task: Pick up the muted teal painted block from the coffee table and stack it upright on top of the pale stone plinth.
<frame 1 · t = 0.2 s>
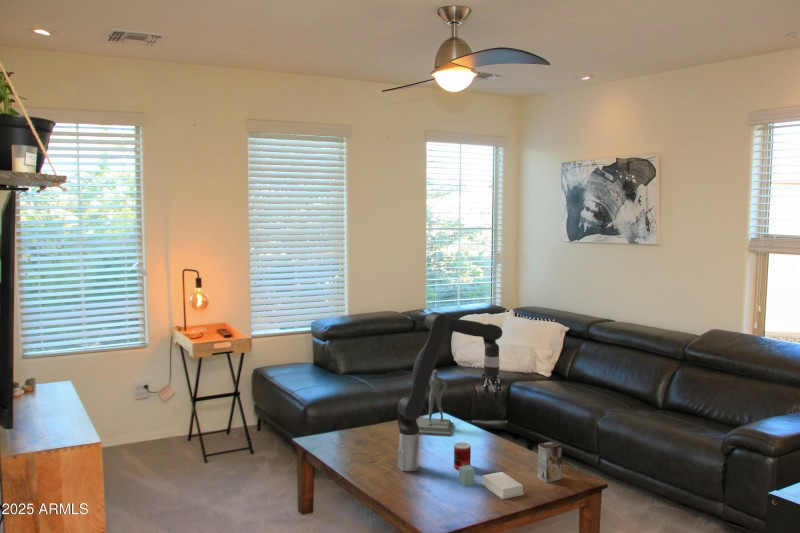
hand: (491, 396, 327), 29 cm above the table, fingers open, 8 cm apart
canned food: (462, 468, 312), on the table
plinth: (502, 489, 288), on the table
block: (466, 483, 295), on the table
statue: (433, 429, 366), on the table
coffee box: (549, 479, 300), on the table
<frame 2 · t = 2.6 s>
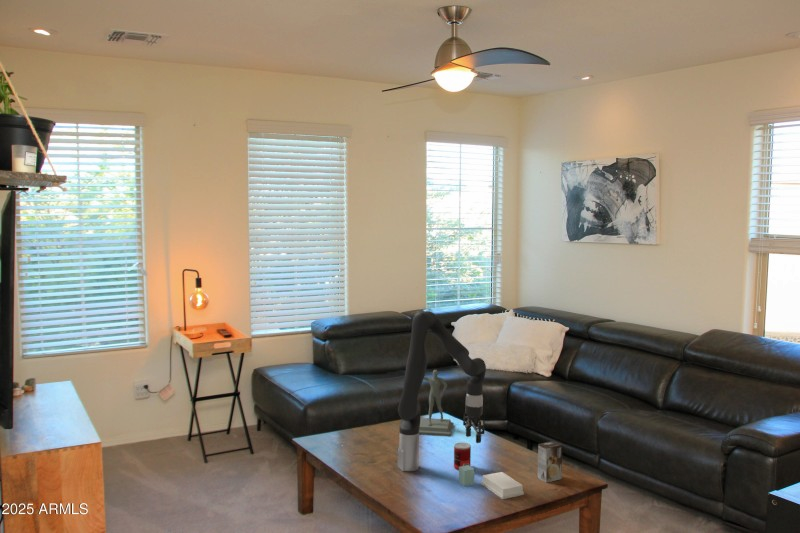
hand: (473, 439, 293), 20 cm above the table, fingers open, 8 cm apart
nothing on the table moved.
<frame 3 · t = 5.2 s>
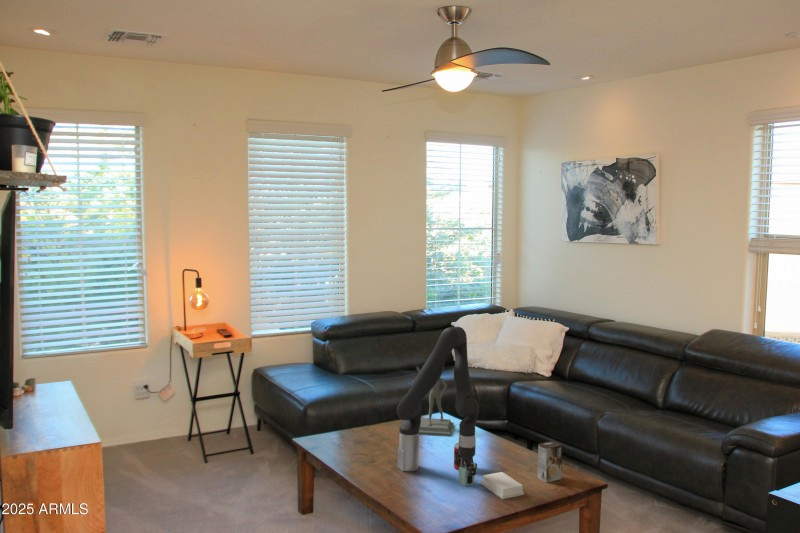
hand: (466, 481, 295), 1 cm above the table, fingers closed on block, 5 cm apart
block: (466, 483, 295), on the table, touching gripper
everything else where it was.
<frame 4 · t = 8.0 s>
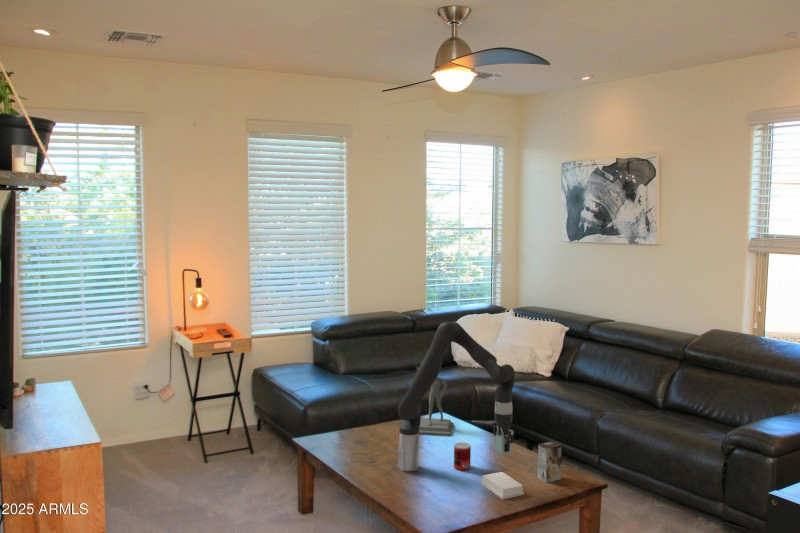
hand: (503, 449, 287), 18 cm above the table, fingers closed on block, 5 cm apart
block: (503, 451, 287), point 17 cm above the table, touching gripper
everything else where it was.
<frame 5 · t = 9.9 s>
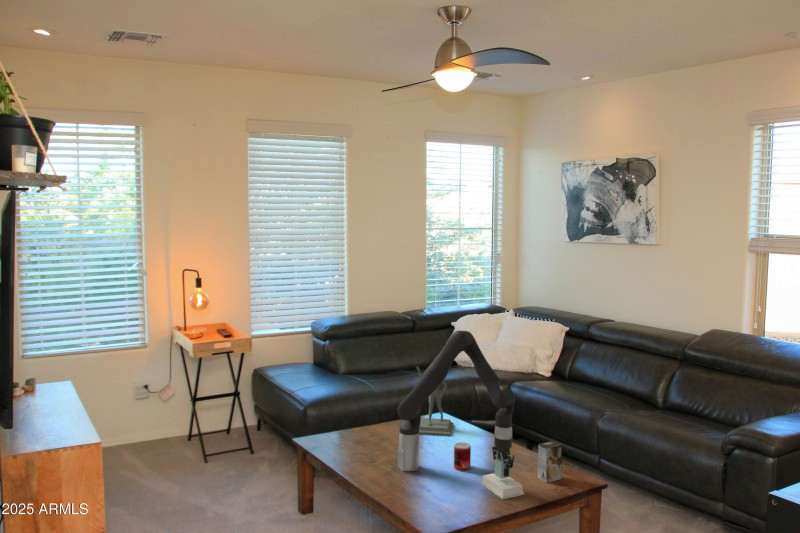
hand: (502, 473, 288), 7 cm above the table, fingers closed on block, 5 cm apart
block: (502, 475, 288), point 6 cm above the table, touching gripper
everything else where it was.
when the fingers open (6 cm above the table, at t = 11.0 s): block stays where it is, resting on plinth.
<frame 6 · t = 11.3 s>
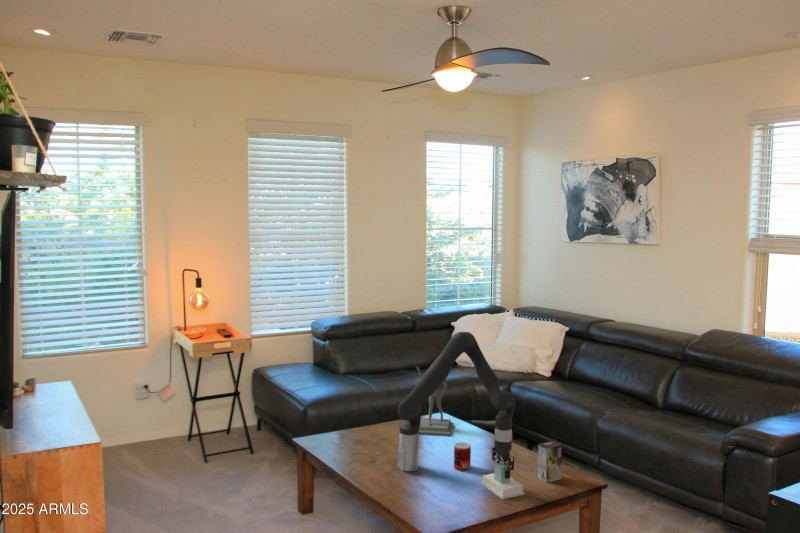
hand: (502, 475, 288), 6 cm above the table, fingers open, 7 cm apart
block: (502, 480, 288), point 4 cm above the table, touching plinth
everything else where it was.
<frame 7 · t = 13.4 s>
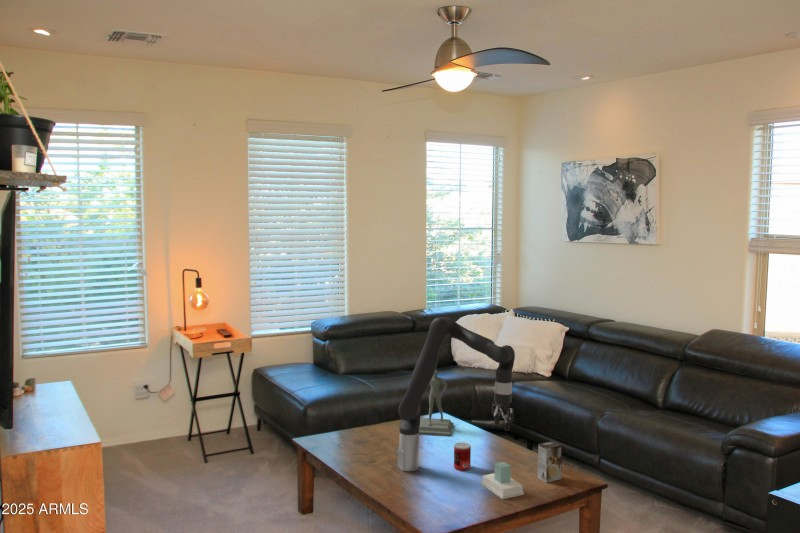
hand: (502, 427, 290), 26 cm above the table, fingers open, 8 cm apart
nothing on the table moved.
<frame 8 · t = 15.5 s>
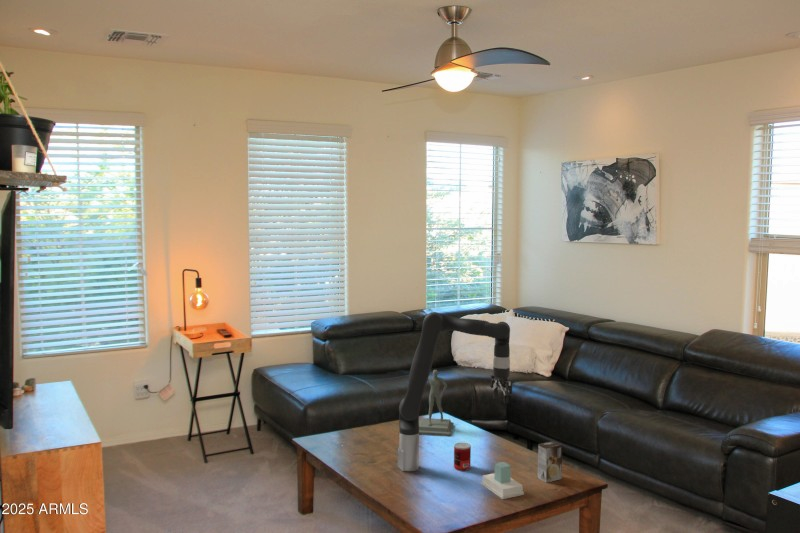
hand: (500, 400, 304), 34 cm above the table, fingers open, 8 cm apart
nothing on the table moved.
at the end: block inside the target area on the plinth (0.0 cm from its centre), point 4.0 cm above the plinth's base; block tilted 0°; the gripper is holding nothing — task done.
